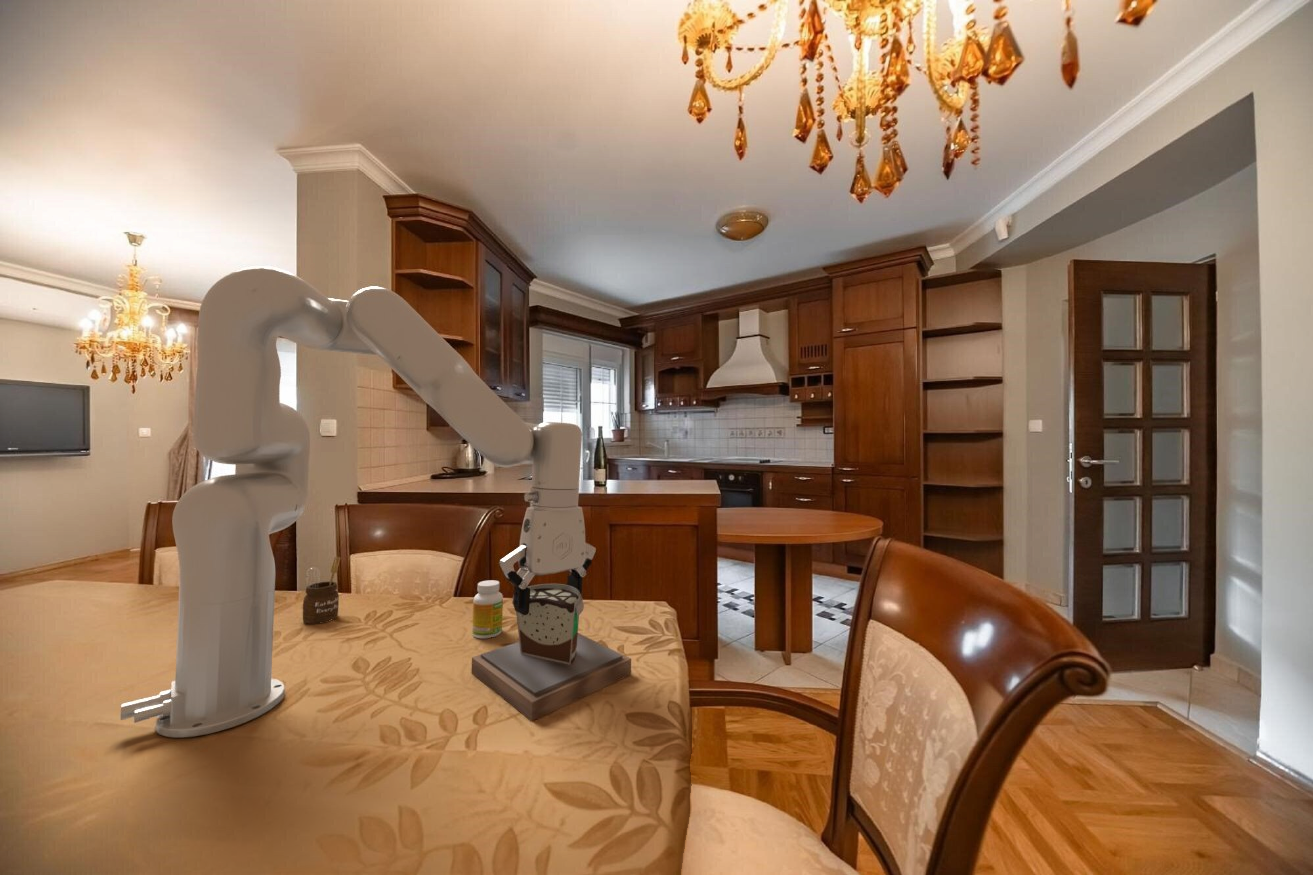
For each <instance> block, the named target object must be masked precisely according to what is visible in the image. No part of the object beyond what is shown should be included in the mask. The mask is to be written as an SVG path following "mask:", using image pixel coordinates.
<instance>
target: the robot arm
mask: <svg viewBox="0 0 1313 875" xmlns="http://www.w3.org/2000/svg"><path fill="white" fill-rule="evenodd" d="M197 320H198V321H197V344H198V345H197V350H198V351H197V366H196V367H197V369H196V376H195V389H194V402H193V403H194V404H193V418H192V419H193V420H192V441H193V444H194V447H195V449H196V450H197V451H198V452H199V454H200V455H201V456H202V457H204V458H205V459H207V460H209V461H212V462H214V463H218V464H223V465H224V464H225V465H235V468H234V469H235V470H234V471H235V472H234V473H235V474H225V475H220V476H215V477H212V478H208V479H205V480H204V481H201V482H199V483H197V484H195V485H193V486H192V487H190V488H189V489H188V490H187V491H185V492H184V493H183V494H182V495H181V497H180V498H179V499H178V501H177V503H176V504H175V506H174V509H173V512H172V518H171V520H172V521H171V523H172V532H173V537H174V540H175V541H174V542H175V546H176V551H177V557H178V568H179V569H178V572H179V574H178V575H179V578H178V579H179V580H178V581H179V584H178V586H179V587H178V614H177V615H178V616H177V634H176V635H177V636H176V637H177V638H176V660H175V680H172V681H171V687H170V688H167V689H165V690H161V691H159V694H157V695H152V696H148V697H144V698H143V697H142V698H137V699H134V700H130V701H126V702H122V703H121V706H120V708H121V709H120V721H123V720H127V719H130V718H134V720H133V722H134V723H139V722H142V721H145V720H149V719H150V718H151V719H152V718H155V717H156V718H155V719H156V720H155V731H156V733H158V735H161V736H163V737H168V738H173V739H174V738H175V739H176V738H192V737H198V736H205V735H210V734H214V733H218V732H222V731H225V730H228V729H232V728H234V727H237V726H240V725H243V724H245V723H248V722H249V721H251V720H255V719H257V718H258V717H261V716H262V715H264V714H266V713H268V712H269V711H270V710H272V709H273V708H274V707H276V706H277V705H278V704H279V703H280V702H282V700H283V699H284V697H285V694H286V685H285V683H284V682H283V681H281V680H279V679H276V678H272V672H273V671H272V670H273V669H272V668H273V642H274V622H275V621H274V619H275V617H274V616H275V598H276V597H275V592H276V590H275V589H276V563H275V557H274V553H273V549H272V545H271V541H270V535H271V534H274V533H277V532H279V531H282V530H285V529H286V528H288V527H290V526H291V525H293V524H294V523H295V522H297V521H298V519H299V518H300V517H301V515H302V514H303V512H304V510H305V508H306V504H307V501H308V500H307V499H308V490H309V488H308V487H309V472H310V454H311V452H310V450H311V436H310V431H309V430H310V429H309V427H308V424H307V422H306V419H304V417H303V416H302V415H301V414H300V413H299V412H298V411H297V410H296V409H295V408H293V407H291V406H289V405H288V404H285V403H283V402H280V401H281V400H280V394H281V393H280V391H281V389H280V388H281V386H280V383H281V376H282V367H281V361H280V357H279V353H278V350H277V341H278V339H279V337H282V338H283V339H286V340H288V341H290V342H292V343H295V344H297V345H299V346H302V347H305V348H309V349H314V350H319V351H326V352H327V351H328V352H338V353H339V352H340V353H351V354H361V355H371V356H372V355H373V356H378V357H379V358H380V359H381V360H382V361H383V362H384V363H385V364H387V365H388V366H389V368H391V369H392V370H393V371H394V372H395V373H396V374H397V375H398V376H399V377H400V378H401V379H402V380H403V381H404V382H405V384H407V385H408V386H409V387H410V388H411V389H412V390H413V391H414V392H415V393H417V395H418V396H419V397H420V399H422V400H423V401H424V402H425V403H426V404H427V405H429V406H430V407H431V408H432V409H433V410H434V411H436V413H438V415H439V416H441V417H442V419H444V421H445V422H446V423H447V424H448V425H450V426H451V428H452V429H454V430H455V432H457V433H458V434H459V435H460V436H461V437H462V438H463V439H464V440H465V441H466V442H467V443H468V444H470V446H472V447H473V449H475V450H476V452H478V453H479V454H480V455H481V456H482V457H483V458H484V459H485V460H486V461H487V462H488V463H491V464H492V465H495V466H497V467H502V468H511V467H515V466H518V465H523V464H532V472H531V487H530V491H529V492H525V493H524V496H523V497H524V498H523V499H524V501H525V502H529V506H528V507H526V509H525V510H526V511H525V514H524V517H523V522H522V527H521V531H520V538H519V545H518V547H517V548H516V549H514V550H513V551H511V552H510V553H508V554H507V555H505V556H504V557H502V558H501V559H500V560H499V562H498V564H499V566H500V568H501V570H502V572H503V574H504V577H505V579H507V580H508V581H509V582H510V584H511V585H513V595H514V601H513V600H512V601H513V604H512V605H513V608H514V611H515V612H516V611H517V612H519V613H520V614H522V615H528V613H529V604H530V588H527V587H529V586H528V585H529V584H530V583H531V581H532V580H533V578H534V577H535V576H545V575H551V574H557V573H564V572H568V571H569V572H570V573H568V574H567V579H566V581H567V583H566V585H569V586H572V587H574V588H576V589H578V590H579V592H580V594H581V595H582V591H583V578H584V577H585V576H586V575H587V570H588V569H589V568H590V566H591V565H592V560H593V559H594V556H595V554H596V550H597V548H596V547H594V546H593V545H592V544H590V543H588V542H586V527H585V517H584V511H583V507H582V506H579V496H580V495H579V491H580V476H581V457H582V440H583V438H582V434H583V432H582V429H581V427H580V426H579V425H576V424H573V423H570V422H569V423H568V422H556V421H555V422H554V421H553V422H552V421H548V422H547V421H546V422H544V421H543V422H540V423H531V422H525V421H524V420H523V419H522V418H521V417H520V416H519V415H518V414H517V413H516V412H515V411H514V410H513V409H511V407H510V406H509V405H507V403H506V402H505V401H504V400H503V399H502V398H501V397H500V396H499V395H497V393H496V392H494V391H493V390H492V389H491V388H490V386H488V384H486V383H485V381H483V380H482V378H480V377H479V375H478V374H477V373H476V372H475V371H474V370H473V368H472V367H471V365H470V364H469V363H468V362H467V361H466V359H465V358H464V357H463V356H462V355H461V354H460V353H459V352H457V350H455V348H453V347H452V346H451V344H450V343H448V342H447V341H446V339H444V337H442V335H440V333H438V332H437V330H435V328H433V327H432V325H430V324H429V322H427V321H426V320H425V319H424V318H423V317H422V316H421V315H420V314H419V313H418V312H417V311H416V309H414V308H413V306H411V305H410V304H409V303H408V301H406V300H405V299H404V298H403V296H400V295H399V294H398V293H396V292H394V291H392V290H391V289H389V288H385V287H381V286H368V287H364V288H361V289H359V290H357V291H355V293H353V294H352V295H351V296H350V298H349V299H348V300H344V299H343V300H342V299H335V298H329V297H327V296H326V295H325V294H323V293H322V292H321V291H319V290H318V289H317V288H316V287H314V286H313V285H312V284H311V283H308V282H307V281H306V280H304V279H302V278H301V277H300V276H298V275H295V274H294V273H292V272H289V271H286V270H284V269H280V268H277V267H271V266H264V265H262V266H250V267H244V268H241V269H238V270H235V271H233V272H231V273H228V274H227V275H224V276H223V277H222V278H220V279H219V280H218V281H216V282H215V283H213V285H212V286H211V287H210V288H209V289H208V290H207V292H206V293H205V295H204V297H203V300H202V302H201V305H200V307H199V311H198V319H197ZM517 562H518V568H519V569H518V570H517V571H515V568H514V565H515V563H517Z"/></svg>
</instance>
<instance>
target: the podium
mask: <svg viewBox="0 0 1313 875" xmlns="http://www.w3.org/2000/svg"><path fill="white" fill-rule="evenodd" d="M470 671H471V672H470V673H471V674H472V675H473V676H474V677H475V678H477V679H478V680H479V681H481V682H482V683H483V684H484V685H486V686H487V687H488V688H489V689H491V691H493V692H494V693H495V694H497V695H498V696H499V697H500V698H502V699H503V700H504V701H506V702H507V703H508V704H509V705H511V706H512V707H513V708H515V710H517V711H518V712H519V713H521V714H522V715H523V716H524V717H526V718H527V719H528V720H530V721H531V722H533V721H536V720H537V719H540V718H542V717H544V716H546V715H549V714H550V713H553V712H554V711H557V710H558V709H560V708H563V707H566V706H567V705H570V704H572V703H573V702H576V701H578V700H581V699H582V698H584V697H586V696H587V697H588V695H591V694H593V693H595V692H597V691H599V690H602V689H604V688H605V686H606V687H607V685H608V686H610V685H612V684H614V683H616V682H618V681H620V680H622V679H621V678H623V677H625V676H627V675H629V674H631V675H632V658H630V657H628V656H626V655H625V654H622V653H620V652H619V651H616V650H614V649H611V648H610V647H608V646H605V645H604V644H602V643H600V642H598V641H596V640H593V639H591V638H589V637H588V636H585V635H583V634H581V633H579V632H578V636H577V648H576V657H575V660H574V662H573V663H572V664H571V665H568V664H564V663H559V662H555V661H550V660H546V659H542V658H537V657H533V656H528V655H524V654H521V653H520V644H519V641H518V642H515V643H511V644H508V645H504V646H502V647H499V648H495V649H493V650H490V651H486V652H484V653H481V654H478V655H475V656H472V657H471V669H470ZM629 676H630V675H629ZM627 677H628V676H627ZM625 678H626V677H625ZM619 679H620V680H619ZM623 679H624V678H623ZM615 681H616V682H615ZM613 682H614V683H613ZM611 683H612V684H611ZM592 692H593V693H592Z"/></svg>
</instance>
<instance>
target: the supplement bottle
mask: <svg viewBox="0 0 1313 875" xmlns="http://www.w3.org/2000/svg"><path fill="white" fill-rule="evenodd" d="M499 590H500V581H499V580H493V579H492V580H491V579H490V580H483V581H479V582H478V583H477V590H476V591H477V592H478V593H477V594H475V596H474V597H473V602H472V604H473V605H472V607H473V608H472V630H471V631H472V636H473V637H475V638H476V639H482V640H483V639H491V637H492V638H495V637H498V636H499V635H500V634H502V632H503V614H504V613H503V609H504V608H503V607H504V605H503V604H504V595H503V593H501V592H500V591H499Z"/></svg>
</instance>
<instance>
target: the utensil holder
mask: <svg viewBox="0 0 1313 875" xmlns="http://www.w3.org/2000/svg"><path fill="white" fill-rule="evenodd" d="M340 561H341V557H339V556H334V558H333V562H332V566H331V567H330V573H331V577H330V579H329V580H330V581H319V577H316V576H315V575H314V579H316V578H317V582H313V580H312V582H311V580H310V578H308V579H309V582H310V584H309V582H308V579H305V581H306V582H307V586H306V589H305V595H304V598H303V601H302V620H303V623H304V622H305V624H307V623H308V624H307V625H317V624H316V623H318V624H321V623H320V622H324V623H326V621H328V622H330V621H329V620H331V619H333V618H335V617H336V616H337V617H338V615H339V604H340V603H339V600H340V598H339V592H338V591H337V589H338V584H337V582H335V581H333V580H334V577H335V574H336V573H338V570H339V565H340ZM310 570H312V571H313V573H316V575H320V574H321V572H320V571H319V569H318V568H317V567H316V566H313V567H310V568H308V569H307V575H311V578H313V577H312V574H309V571H310ZM316 570H317V571H318V572H315V571H316ZM317 573H318V574H317ZM315 577H316V578H315ZM337 617H336V618H337ZM336 618H335V619H336ZM333 620H334V619H333ZM331 621H332V620H331Z"/></svg>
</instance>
